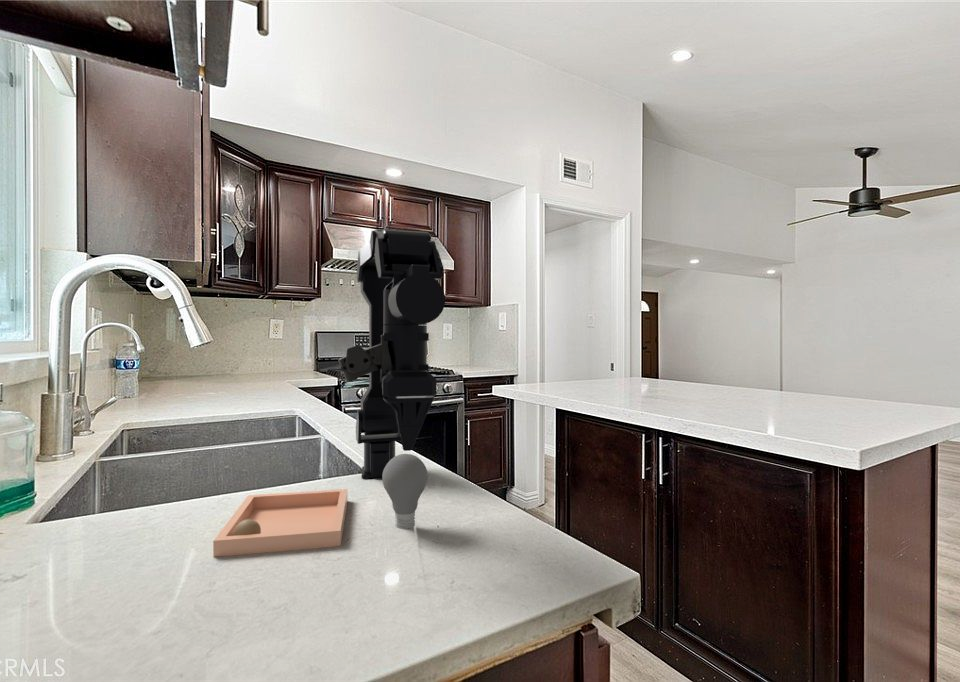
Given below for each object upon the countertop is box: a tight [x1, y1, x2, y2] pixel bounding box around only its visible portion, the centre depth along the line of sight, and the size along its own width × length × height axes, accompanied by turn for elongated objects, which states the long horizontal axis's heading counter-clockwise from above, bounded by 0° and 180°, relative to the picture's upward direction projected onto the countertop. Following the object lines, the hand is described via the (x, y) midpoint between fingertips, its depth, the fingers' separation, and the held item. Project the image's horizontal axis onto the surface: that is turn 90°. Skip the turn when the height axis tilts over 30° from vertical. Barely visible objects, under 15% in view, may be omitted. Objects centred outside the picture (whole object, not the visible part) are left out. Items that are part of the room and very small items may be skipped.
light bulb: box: [381, 453, 429, 529], centre depth 65 cm, size 6×6×10 cm
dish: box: [212, 488, 349, 558], centre depth 65 cm, size 16×14×2 cm
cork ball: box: [233, 519, 261, 536], centre depth 59 cm, size 3×3×3 cm
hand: (405, 442), depth 65 cm, fingers open, 9 cm apart
